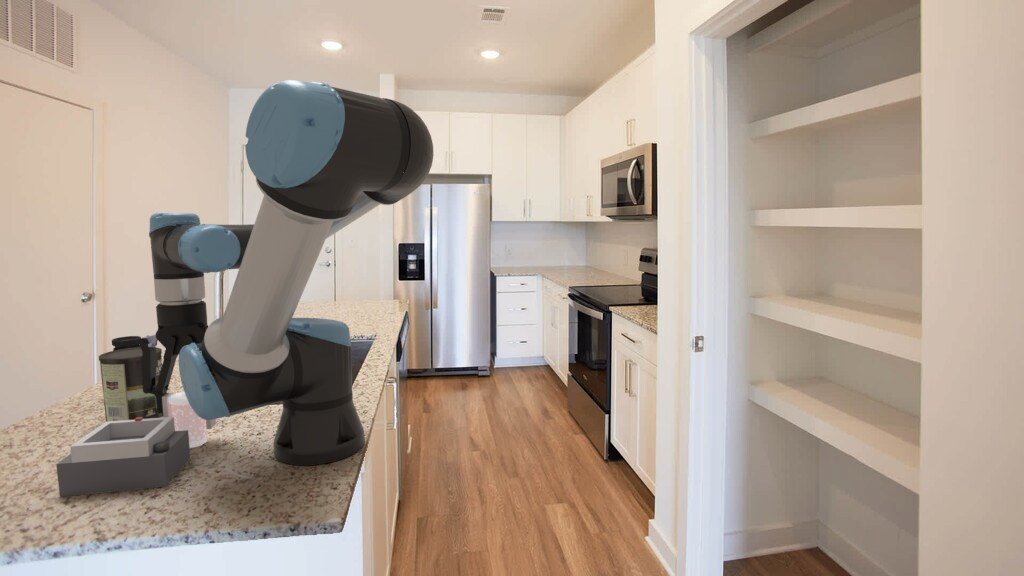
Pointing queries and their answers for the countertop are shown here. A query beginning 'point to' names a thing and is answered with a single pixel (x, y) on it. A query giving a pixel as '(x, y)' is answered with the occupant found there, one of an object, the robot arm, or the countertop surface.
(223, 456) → the countertop surface
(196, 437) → the beverage cup
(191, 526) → the countertop surface
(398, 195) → the robot arm
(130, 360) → the coffee can
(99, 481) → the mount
